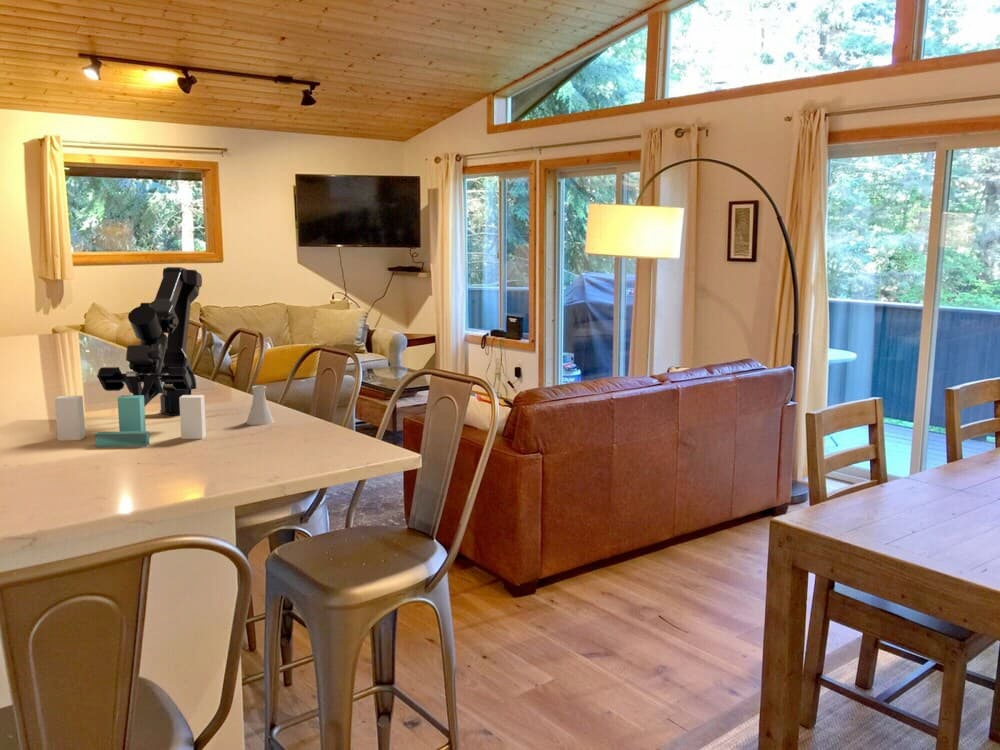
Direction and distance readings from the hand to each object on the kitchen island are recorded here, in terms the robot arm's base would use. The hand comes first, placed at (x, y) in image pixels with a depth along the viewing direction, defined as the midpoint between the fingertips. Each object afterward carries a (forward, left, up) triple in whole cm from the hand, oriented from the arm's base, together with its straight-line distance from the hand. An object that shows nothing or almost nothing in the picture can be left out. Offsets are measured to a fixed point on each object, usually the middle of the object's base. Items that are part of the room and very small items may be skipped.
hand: (138, 409), depth 177 cm
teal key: (+3, +3, -5) cm, 7 cm away
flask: (-25, +7, -7) cm, 27 cm away
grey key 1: (+12, -5, -5) cm, 14 cm away
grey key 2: (-7, +11, -5) cm, 14 cm away
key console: (+4, +5, -7) cm, 10 cm away
